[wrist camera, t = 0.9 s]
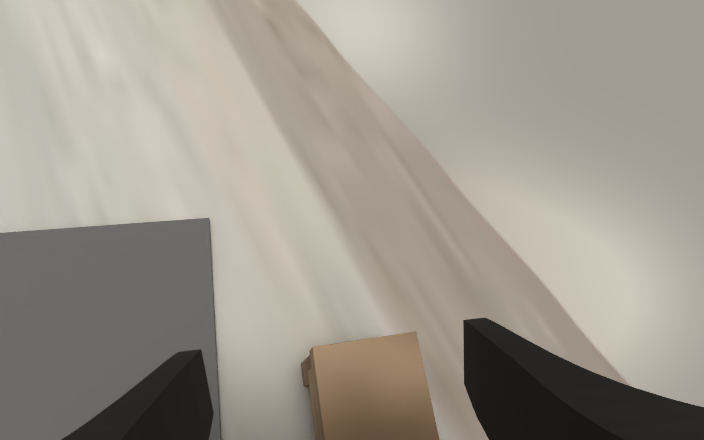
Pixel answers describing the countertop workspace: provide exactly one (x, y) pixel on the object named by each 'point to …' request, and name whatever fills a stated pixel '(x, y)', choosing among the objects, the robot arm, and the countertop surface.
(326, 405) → the stool
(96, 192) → the countertop surface
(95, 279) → the mat
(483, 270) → the countertop surface
